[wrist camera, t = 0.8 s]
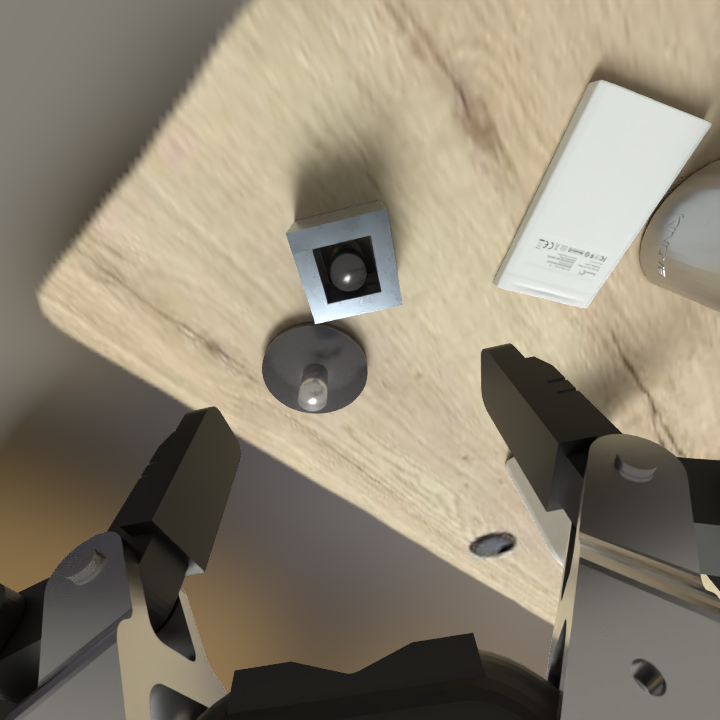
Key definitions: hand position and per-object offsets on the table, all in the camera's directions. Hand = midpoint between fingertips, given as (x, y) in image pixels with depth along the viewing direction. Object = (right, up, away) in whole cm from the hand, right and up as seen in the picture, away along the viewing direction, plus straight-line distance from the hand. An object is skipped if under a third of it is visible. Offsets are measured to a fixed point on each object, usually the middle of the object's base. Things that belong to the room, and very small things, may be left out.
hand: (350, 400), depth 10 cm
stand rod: (-1, +9, +14) cm, 16 cm away
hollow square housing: (-1, +9, +14) cm, 16 cm away
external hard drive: (+16, +12, +14) cm, 24 cm away
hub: (-4, +1, +19) cm, 19 cm away
